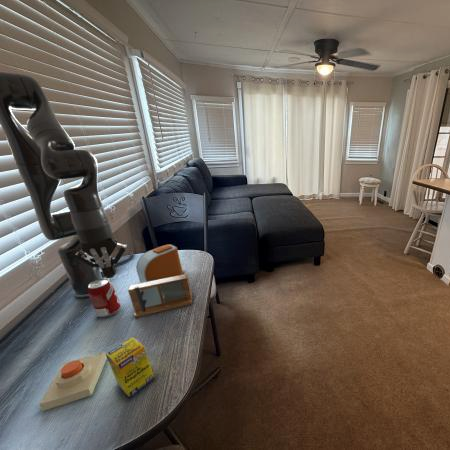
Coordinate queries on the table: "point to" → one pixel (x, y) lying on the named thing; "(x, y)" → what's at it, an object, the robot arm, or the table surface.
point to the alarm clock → (159, 264)
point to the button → (71, 369)
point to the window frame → (164, 294)
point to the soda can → (103, 297)
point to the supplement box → (130, 366)
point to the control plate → (74, 383)
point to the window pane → (149, 297)
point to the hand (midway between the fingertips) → (111, 276)
